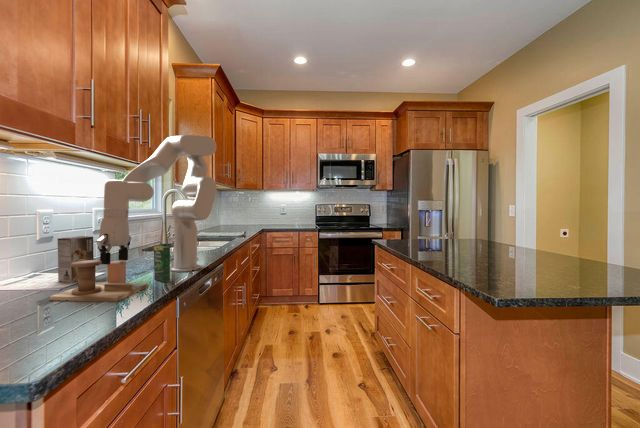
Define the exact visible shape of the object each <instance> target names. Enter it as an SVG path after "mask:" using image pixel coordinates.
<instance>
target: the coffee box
mask: <svg viewBox="0 0 640 428" xmlns="http://www.w3.org/2000/svg"><path fill="white" fill-rule="evenodd" d="M94 257H95V256H94V236H85V235H82V236H78V235H77V236H71V237H69V236H68V237H61V238H60V237H59V238H58V237H57V276H58V277H57V278H58V279H57V281H58V282H59V281H62V283H75V281H76V282H78V267H72V266H71V264H72V263H74V262H79V261H88V260H94V259H95V258H94Z"/></svg>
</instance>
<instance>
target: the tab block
mask: <svg viewBox="0 0 640 428" xmlns="http://www.w3.org/2000/svg"><path fill="white" fill-rule="evenodd" d="M126 261H127V260H114V261H110V264H108V265H107V283H127V279H126V278H127V276H126V275H127V272H126V271H127V267H126V266H127V262H126Z"/></svg>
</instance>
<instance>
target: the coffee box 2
mask: <svg viewBox="0 0 640 428" xmlns="http://www.w3.org/2000/svg"><path fill="white" fill-rule="evenodd" d="M170 267H171V247H170V246H164V245H155V246H153V273H154V274H153V277H154V279H153V280H155V281H158V282H161V283H169V282H171V270H170Z"/></svg>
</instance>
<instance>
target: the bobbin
mask: <svg viewBox="0 0 640 428" xmlns="http://www.w3.org/2000/svg"><path fill="white" fill-rule="evenodd" d="M101 265H103V264H102V261H100V259H99V260H98V259H95V260H88V261H79V262H74V263H72V264H71V266H72V267H78V281H77V287H78V288H76V287H75V288H76V289H74V290H72V295H88V294H93V293H97V292H100V291H101V290H102V287H100V286H95V282H96V267H97V266H101Z"/></svg>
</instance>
